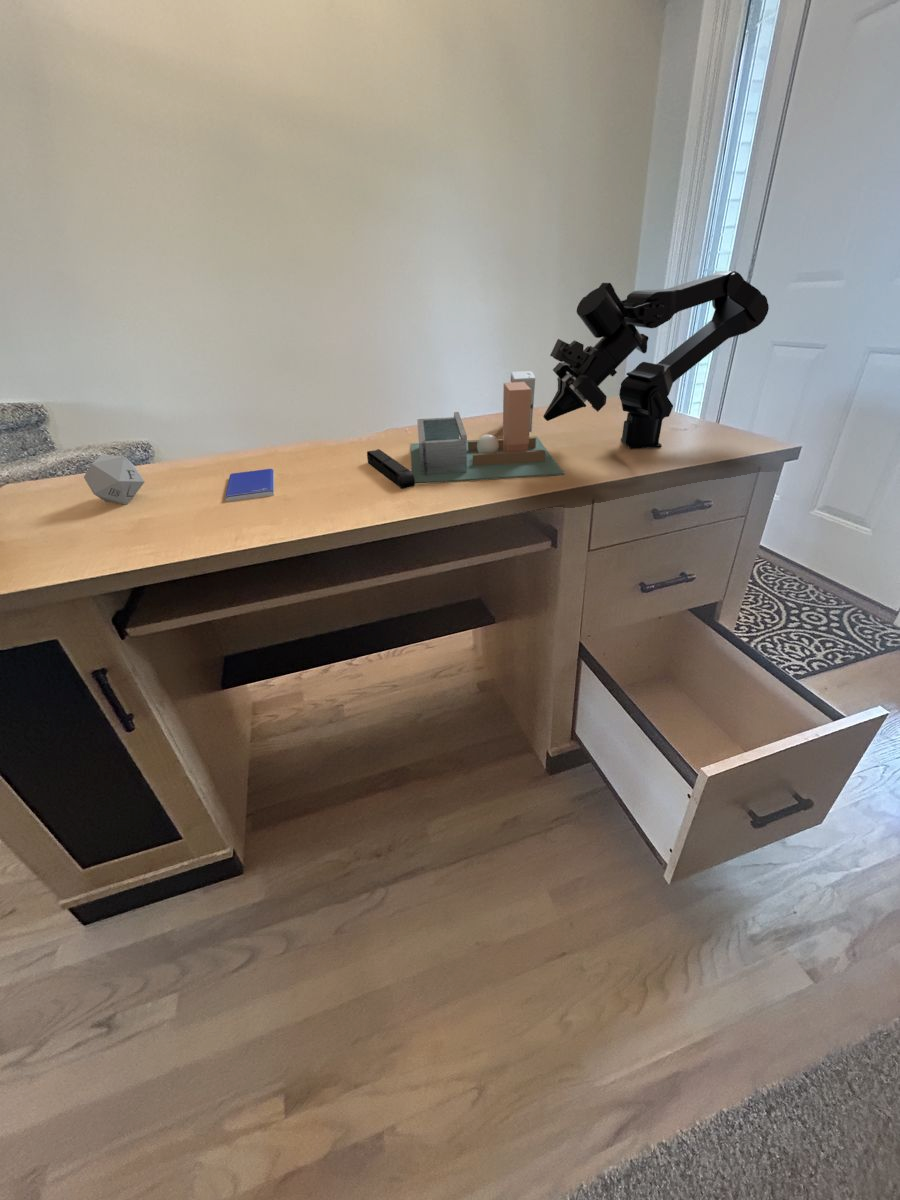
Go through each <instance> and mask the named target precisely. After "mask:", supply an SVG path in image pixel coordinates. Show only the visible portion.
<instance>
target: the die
mask: <svg viewBox="0 0 900 1200" xmlns="http://www.w3.org/2000/svg"><path fill="white" fill-rule="evenodd" d="M83 478H84V481H85V482H86V483H87V485H88V487H89V489H90V490H91V493H92V494H93V495H95V497H98V498H99V499H101V500H102V501H104V502H107V503H112V504H113V503H114V504H119V505H120V504H121V505H128V504H129V503H130V501H131V500H132V499H133V498H134V496H136V494H137V493H138V492H139V490H140V489H141V487H142V486H143V485H144V484H145V480H144V478H143V477H142V475H141V473H140V472H139V470H138V469H137V467H136V466H135V464H133V463H132V462H131V461H130V460H129V459H128V458H126V457H125V456H123V455H113V454H101V455H99V457H97V458H96V459H95V460H94V461H92V462H91V463H90V465H89V467H88V468H87V470H86V471H85V474H84V476H83Z"/></svg>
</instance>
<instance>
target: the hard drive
mask: <svg viewBox="0 0 900 1200" xmlns="http://www.w3.org/2000/svg"><path fill="white" fill-rule="evenodd" d="M226 487H227V488H226V491H225V492H226V493H225V495H224V496H225V497H224V498H225V501H226V502H227V503H228V502H233V501H240V500H250V499H256V498H263V497H272V496H275V471H274V469H273V468H267V469H266V468H265V469H256V470H249V471H242V472H234V473H233V472H232V473H229V477H228V483H227V486H226Z"/></svg>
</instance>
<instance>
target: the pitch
mask: <svg viewBox="0 0 900 1200" xmlns="http://www.w3.org/2000/svg"><path fill="white" fill-rule="evenodd" d="M503 439H504V437H503V438H502V437H501V438H497V440H498V442H499V449H498V451H497V453H479V452H478V450H477V443H478V440H479V439H471V440H468V439H467V441H466V452H467V473H454V474H437V475H421V466H420V452H419V442H417V443H410V463H411V464H410V466H411V470H410V471H411V472H412V473H413V475H414V479H415V485H417V484H418V485H419V484H432V483H433V484H436V483H452V482H466V481H483V480H484V481H485V480H486V481H487V480H498V479H499V480H500V479H516V478H517V479H518V478H532V477H547V476H551V477H552V476H564V475H565V472H564V471H563V469H562V468H561V467H560V466H559V464H558V463H557V462H556V460H555V459H554V458H553V456H552V455H551V454H550V452H549V450H548V449H547V448H546V446H545V445H544V444H543V443H542V441H541V440H540V439H539V437H538V436H537V435H536V436H529V444H528V451H513V452H504V451H503Z"/></svg>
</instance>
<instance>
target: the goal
mask: <svg viewBox="0 0 900 1200" xmlns="http://www.w3.org/2000/svg"><path fill="white" fill-rule="evenodd" d="M416 421H417V422H416V423H417V434H418V443H419V452H420V466H421V475H437V474H454V473H467V452H466V441H467V440H468V439H467V438H468V436H467V435H468V434H467V432H466V429H465V426H464V424H463V421H462V417H461V415H460V412H459V411H455V412H453V416H450V417H449V416H448V417H433V418H417V420H416Z"/></svg>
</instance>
